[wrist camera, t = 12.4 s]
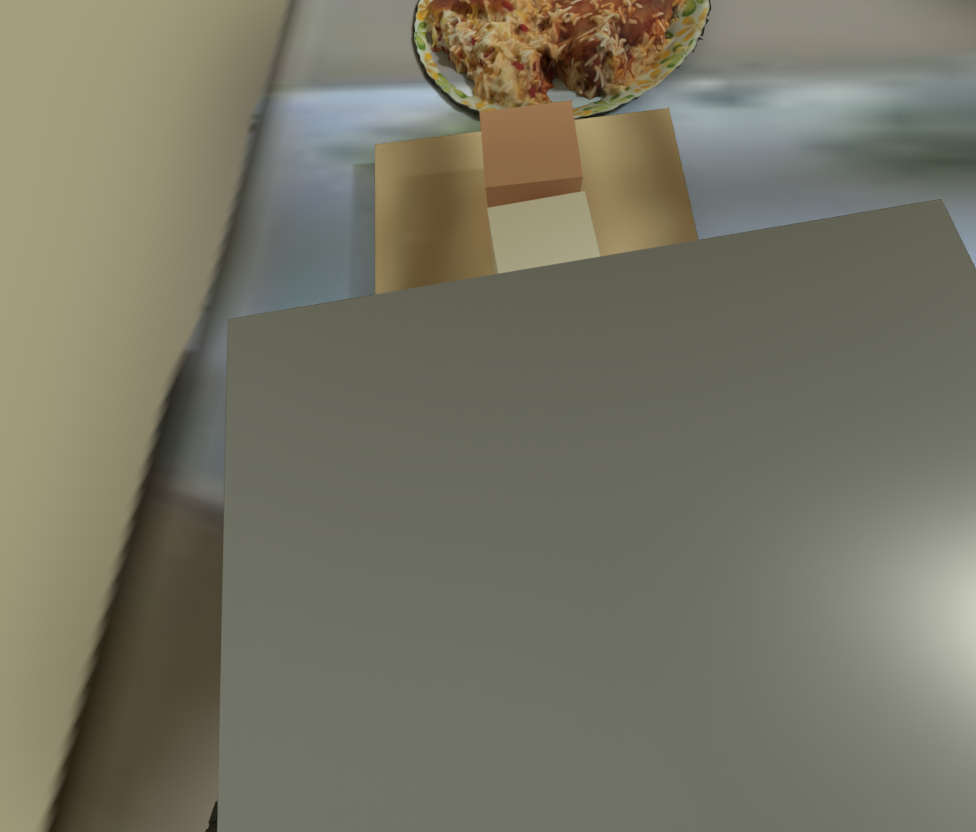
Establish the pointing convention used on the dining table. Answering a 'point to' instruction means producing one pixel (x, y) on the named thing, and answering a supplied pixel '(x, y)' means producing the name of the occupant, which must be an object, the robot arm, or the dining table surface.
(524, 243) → the white block
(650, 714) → the grey matte cube
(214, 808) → the robot arm
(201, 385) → the dining table surface
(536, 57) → the food
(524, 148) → the terracotta block
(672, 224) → the board
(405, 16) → the dining table surface
